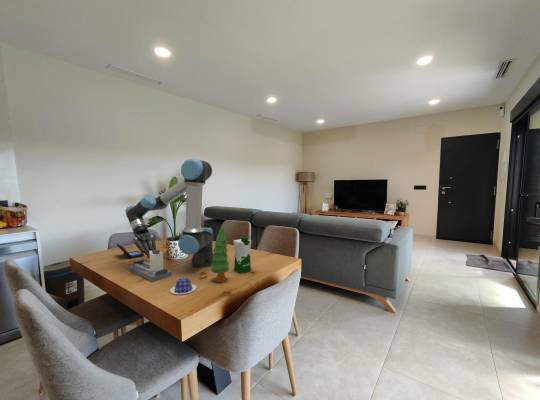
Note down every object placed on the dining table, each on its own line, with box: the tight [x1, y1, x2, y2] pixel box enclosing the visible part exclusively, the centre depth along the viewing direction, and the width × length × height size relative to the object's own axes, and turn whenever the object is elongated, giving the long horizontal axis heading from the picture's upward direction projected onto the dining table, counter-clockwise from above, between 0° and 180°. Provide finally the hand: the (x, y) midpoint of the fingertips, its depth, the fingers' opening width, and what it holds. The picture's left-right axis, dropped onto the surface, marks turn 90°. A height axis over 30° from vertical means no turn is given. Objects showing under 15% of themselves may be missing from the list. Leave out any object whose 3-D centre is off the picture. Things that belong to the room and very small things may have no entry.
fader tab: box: [149, 248, 164, 272], centre depth 135 cm, size 5×6×12 cm
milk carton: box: [232, 236, 252, 274], centre depth 144 cm, size 9×9×20 cm
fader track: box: [128, 259, 173, 283], centre depth 140 cm, size 28×11×4 cm, turn 51°
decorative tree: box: [210, 223, 230, 283], centre depth 129 cm, size 10×9×30 cm
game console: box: [116, 243, 145, 260], centre depth 174 cm, size 16×14×9 cm
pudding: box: [169, 277, 197, 295], centre depth 118 cm, size 12×12×5 cm
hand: (153, 261), depth 136 cm, fingers closed
